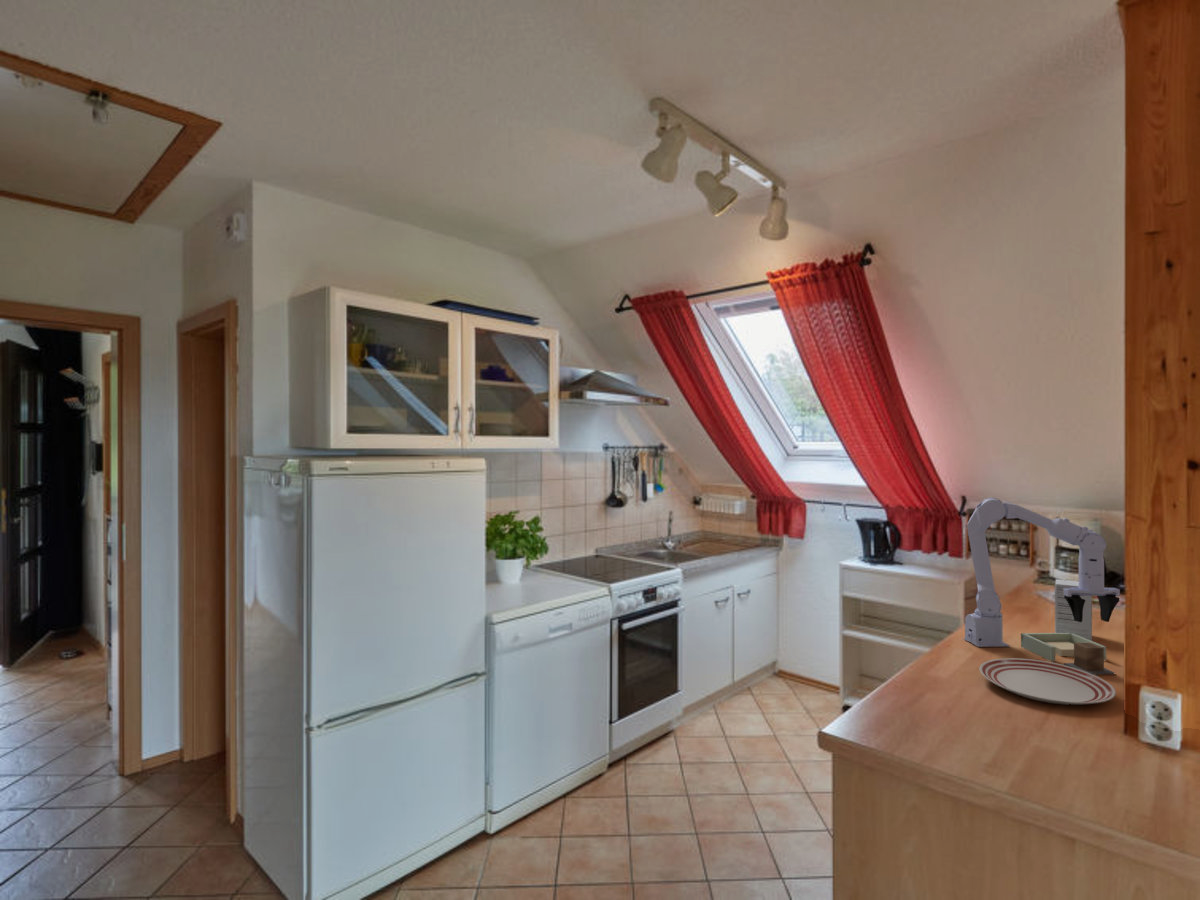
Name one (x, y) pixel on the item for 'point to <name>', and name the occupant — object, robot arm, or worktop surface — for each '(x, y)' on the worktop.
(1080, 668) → the mat
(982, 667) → the dinner plate
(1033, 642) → the crate
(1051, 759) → the worktop surface
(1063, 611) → the supplement box
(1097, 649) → the block
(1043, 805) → the worktop surface
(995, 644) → the robot arm
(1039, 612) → the worktop surface
